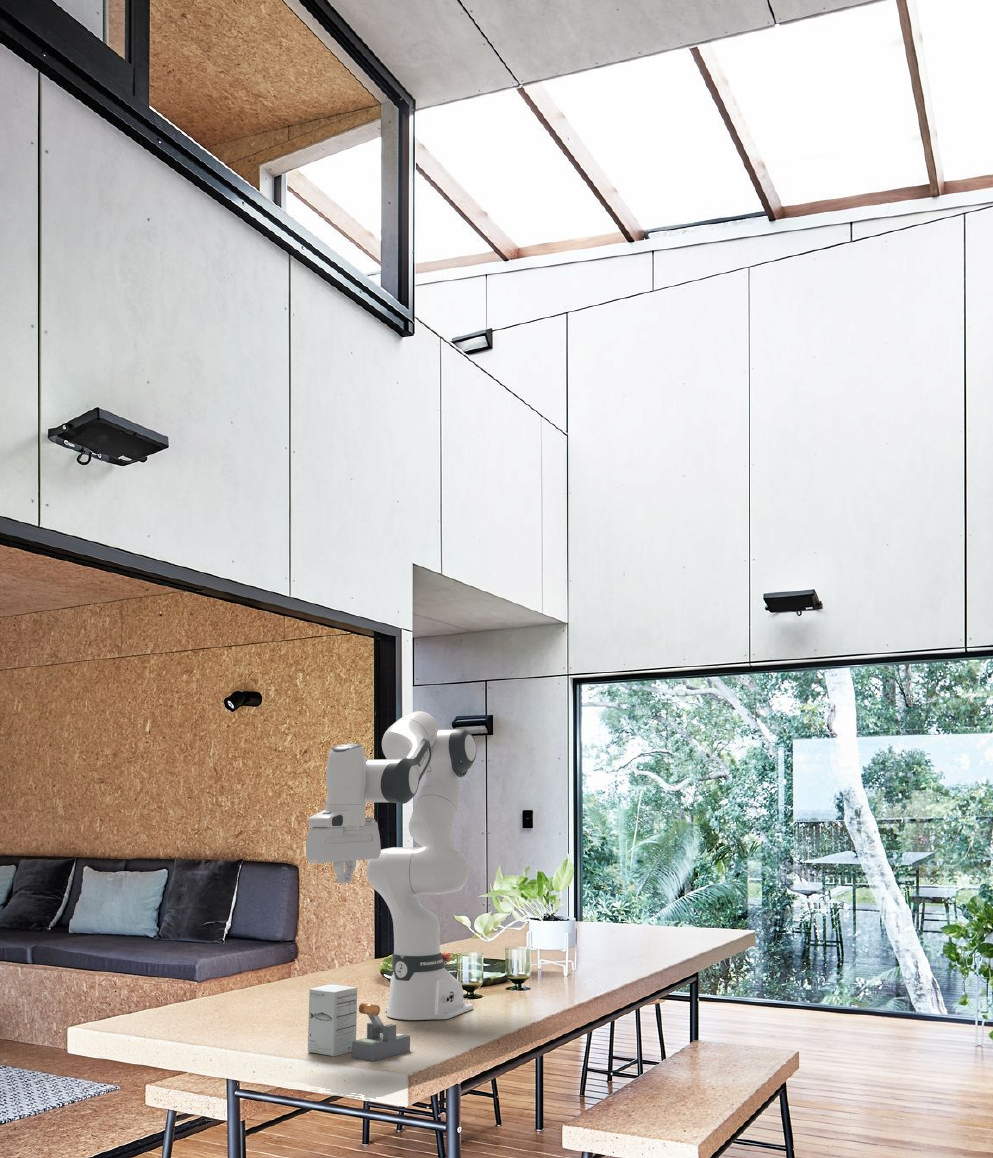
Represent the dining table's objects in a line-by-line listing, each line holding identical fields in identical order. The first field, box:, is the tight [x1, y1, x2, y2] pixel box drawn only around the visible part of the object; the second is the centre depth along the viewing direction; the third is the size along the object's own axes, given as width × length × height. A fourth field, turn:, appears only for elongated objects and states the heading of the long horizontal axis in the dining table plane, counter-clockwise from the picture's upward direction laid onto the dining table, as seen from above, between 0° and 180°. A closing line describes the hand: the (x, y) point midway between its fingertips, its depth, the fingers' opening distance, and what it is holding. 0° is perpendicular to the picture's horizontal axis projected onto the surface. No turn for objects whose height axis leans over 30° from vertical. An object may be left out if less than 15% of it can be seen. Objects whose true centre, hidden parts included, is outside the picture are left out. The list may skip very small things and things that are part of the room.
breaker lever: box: [358, 1002, 385, 1034], centre depth 233 cm, size 2×4×8 cm
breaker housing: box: [351, 1021, 411, 1062], centre depth 234 cm, size 11×6×6 cm, turn 144°
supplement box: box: [307, 984, 358, 1057], centre depth 237 cm, size 7×7×13 cm
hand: (344, 882), depth 250 cm, fingers closed
